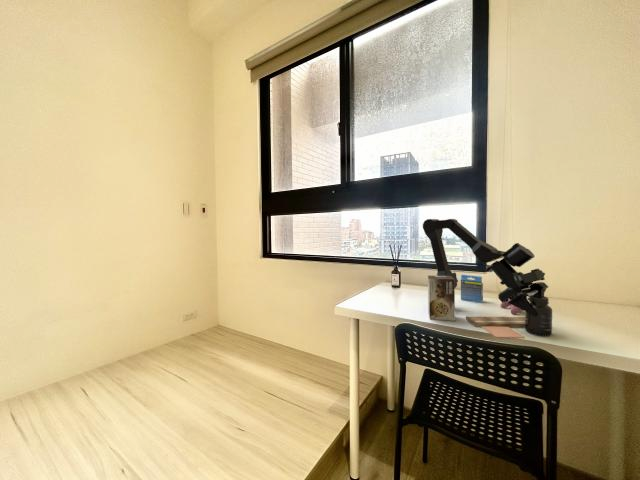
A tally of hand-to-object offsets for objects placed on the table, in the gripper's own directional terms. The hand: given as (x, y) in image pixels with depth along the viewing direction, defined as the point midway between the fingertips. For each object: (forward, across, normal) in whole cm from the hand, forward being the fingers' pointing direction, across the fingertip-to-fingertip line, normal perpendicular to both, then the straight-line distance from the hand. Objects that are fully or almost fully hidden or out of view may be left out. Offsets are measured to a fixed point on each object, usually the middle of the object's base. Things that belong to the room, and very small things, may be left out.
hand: (543, 314), depth 84 cm
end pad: (0, -10, +9) cm, 14 cm away
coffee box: (-13, -16, +23) cm, 31 cm away
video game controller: (-8, +16, +18) cm, 25 cm away
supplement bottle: (+4, 0, +6) cm, 7 cm away
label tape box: (-21, +14, +30) cm, 39 cm away
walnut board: (-3, -1, +13) cm, 13 cm away
